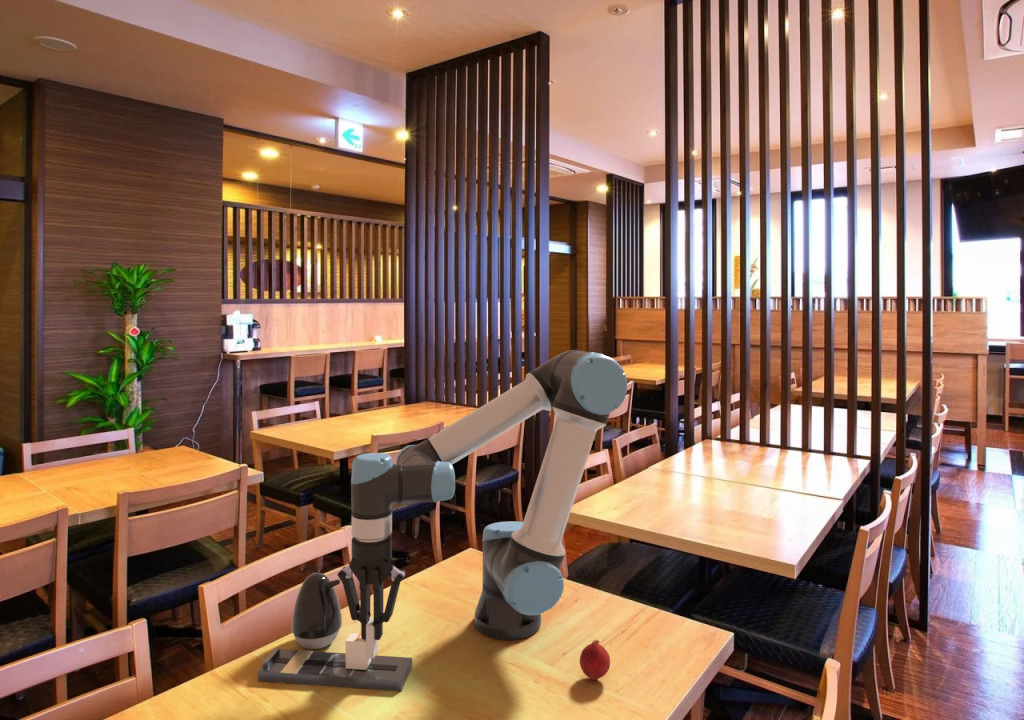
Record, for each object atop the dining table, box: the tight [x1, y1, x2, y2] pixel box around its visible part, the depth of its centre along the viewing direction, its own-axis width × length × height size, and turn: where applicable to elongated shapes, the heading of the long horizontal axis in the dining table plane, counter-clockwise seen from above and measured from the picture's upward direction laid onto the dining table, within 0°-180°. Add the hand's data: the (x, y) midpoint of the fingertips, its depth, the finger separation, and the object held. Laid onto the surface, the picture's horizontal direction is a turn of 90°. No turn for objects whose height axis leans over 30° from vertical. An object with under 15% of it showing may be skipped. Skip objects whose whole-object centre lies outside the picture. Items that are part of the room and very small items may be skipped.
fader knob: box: [345, 632, 371, 670], centre depth 123 cm, size 4×3×6 cm
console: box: [257, 647, 413, 692], centre depth 124 cm, size 28×8×3 cm, turn 84°
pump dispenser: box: [291, 572, 343, 650], centre depth 135 cm, size 10×10×15 cm
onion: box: [579, 638, 611, 681], centre depth 123 cm, size 6×6×8 cm
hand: (372, 654), depth 123 cm, fingers closed
